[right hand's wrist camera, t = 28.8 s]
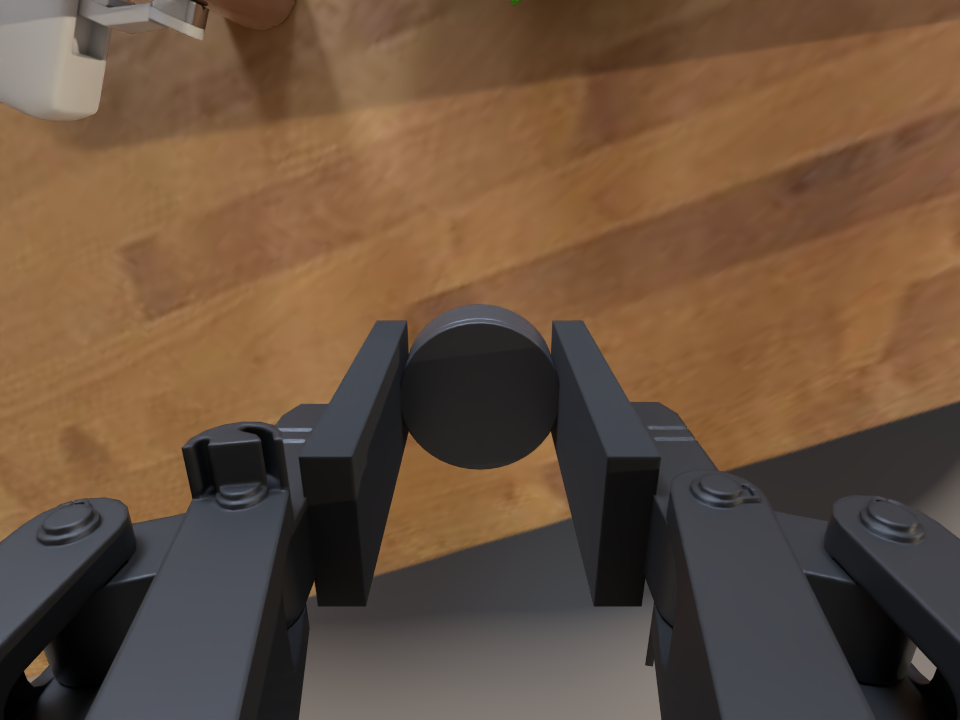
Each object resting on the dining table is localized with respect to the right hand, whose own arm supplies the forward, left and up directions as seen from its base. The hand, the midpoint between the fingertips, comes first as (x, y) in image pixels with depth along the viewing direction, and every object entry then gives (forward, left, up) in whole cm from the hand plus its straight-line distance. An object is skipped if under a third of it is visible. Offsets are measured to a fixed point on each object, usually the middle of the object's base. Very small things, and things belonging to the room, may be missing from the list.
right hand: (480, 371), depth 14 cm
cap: (0, 0, +1) cm, 1 cm away
